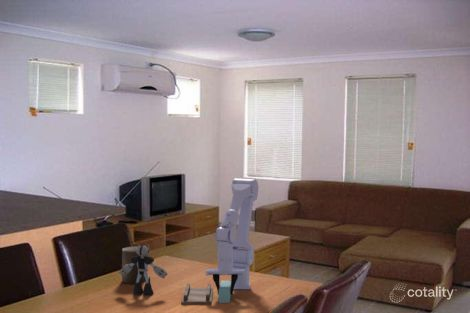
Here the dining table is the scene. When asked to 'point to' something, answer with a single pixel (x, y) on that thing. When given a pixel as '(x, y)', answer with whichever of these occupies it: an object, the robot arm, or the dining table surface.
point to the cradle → (197, 295)
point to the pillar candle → (126, 259)
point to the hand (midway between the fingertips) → (225, 293)
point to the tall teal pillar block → (225, 292)
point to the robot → (143, 270)
